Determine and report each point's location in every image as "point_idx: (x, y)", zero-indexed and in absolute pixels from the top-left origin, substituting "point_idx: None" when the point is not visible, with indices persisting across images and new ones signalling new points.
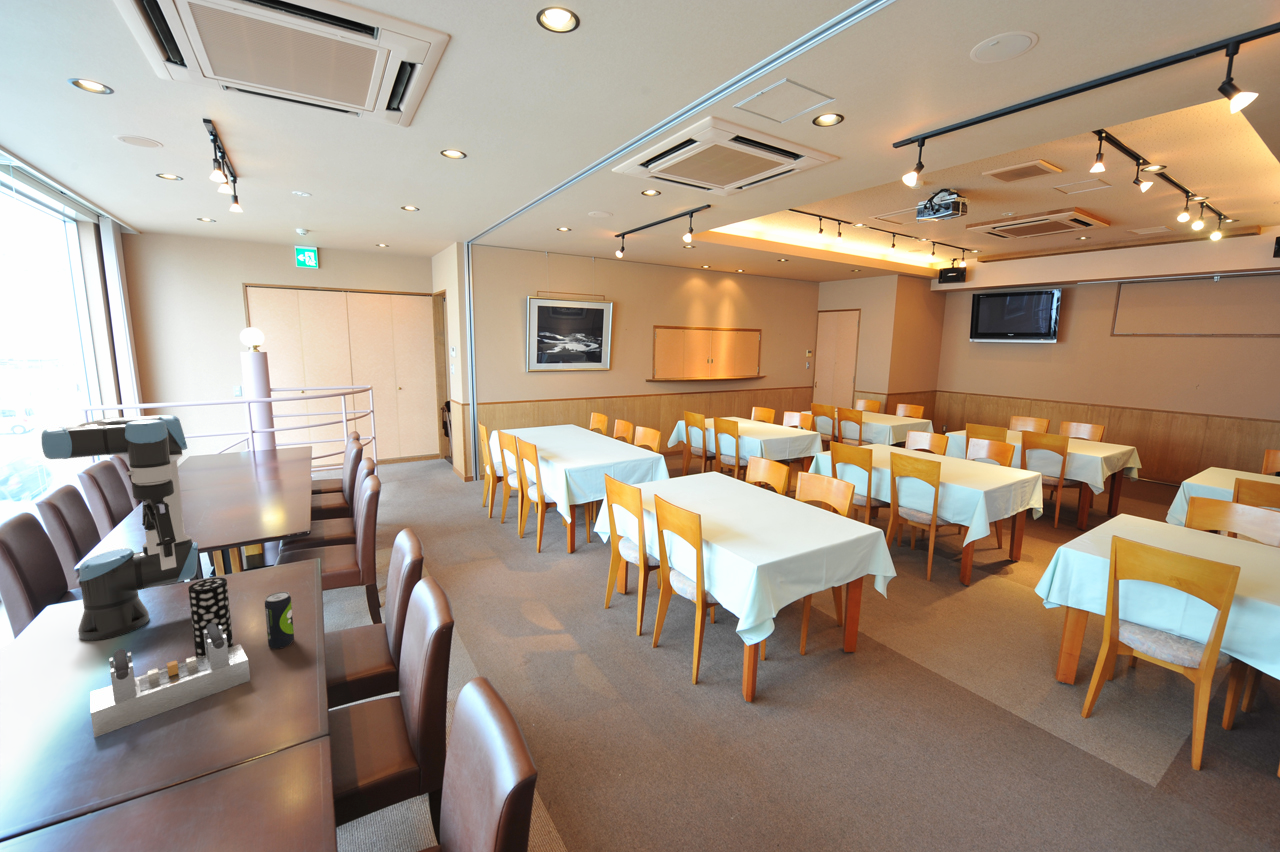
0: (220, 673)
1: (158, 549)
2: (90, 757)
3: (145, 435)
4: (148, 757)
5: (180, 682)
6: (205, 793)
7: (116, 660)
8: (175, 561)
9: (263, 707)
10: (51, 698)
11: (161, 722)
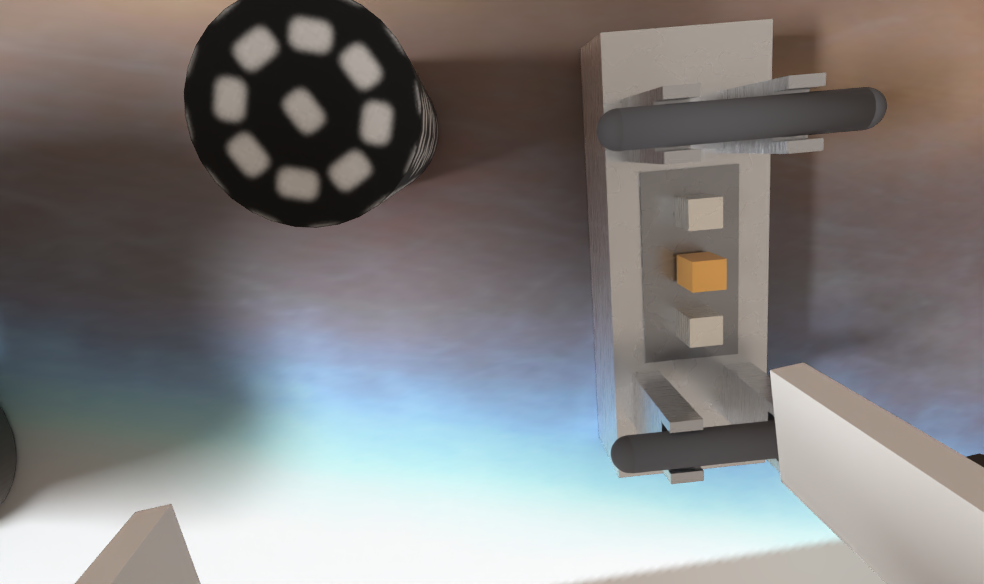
0: None
1: (163, 563)
2: None
3: None
4: (935, 307)
5: (768, 245)
6: None
7: (730, 462)
8: (843, 390)
9: (940, 19)
10: (404, 539)
11: (782, 284)
